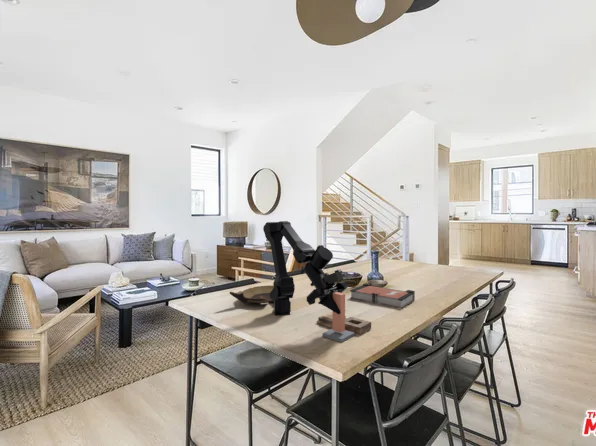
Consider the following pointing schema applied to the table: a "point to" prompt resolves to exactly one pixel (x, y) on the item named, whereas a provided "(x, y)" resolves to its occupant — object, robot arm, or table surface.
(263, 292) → the oil lamp
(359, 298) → the book
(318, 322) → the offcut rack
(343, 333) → the grey mat
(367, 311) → the table surface
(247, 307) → the table surface
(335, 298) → the pink bar
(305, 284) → the table surface
